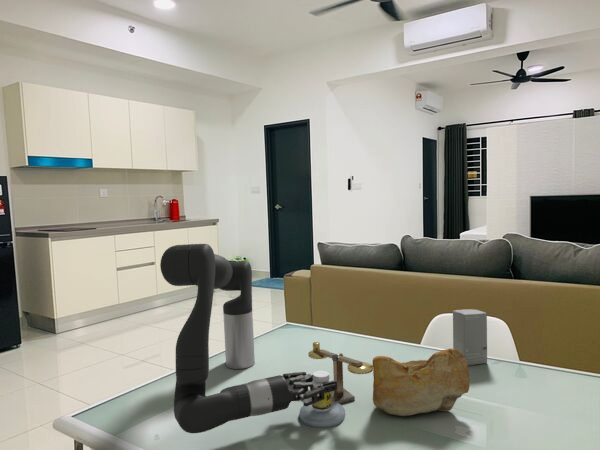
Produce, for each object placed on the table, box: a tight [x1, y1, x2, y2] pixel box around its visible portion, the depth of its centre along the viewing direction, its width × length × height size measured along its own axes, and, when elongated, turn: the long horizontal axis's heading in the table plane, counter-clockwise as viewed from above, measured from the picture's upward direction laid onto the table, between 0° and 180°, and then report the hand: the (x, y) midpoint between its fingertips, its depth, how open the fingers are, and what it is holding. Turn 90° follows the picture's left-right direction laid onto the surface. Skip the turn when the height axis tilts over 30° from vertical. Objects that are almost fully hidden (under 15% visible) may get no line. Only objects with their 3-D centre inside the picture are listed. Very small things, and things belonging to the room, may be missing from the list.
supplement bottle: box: [312, 370, 331, 412], centre depth 107 cm, size 5×5×8 cm
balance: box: [307, 341, 373, 405], centre depth 115 cm, size 28×6×13 cm, turn 24°
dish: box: [299, 401, 346, 429], centre depth 107 cm, size 11×11×1 cm
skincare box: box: [452, 308, 488, 366], centre depth 137 cm, size 8×7×16 cm
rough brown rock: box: [372, 348, 471, 417], centre depth 111 cm, size 23×17×15 cm
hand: (330, 380), depth 108 cm, fingers closed on supplement bottle, 4 cm apart
